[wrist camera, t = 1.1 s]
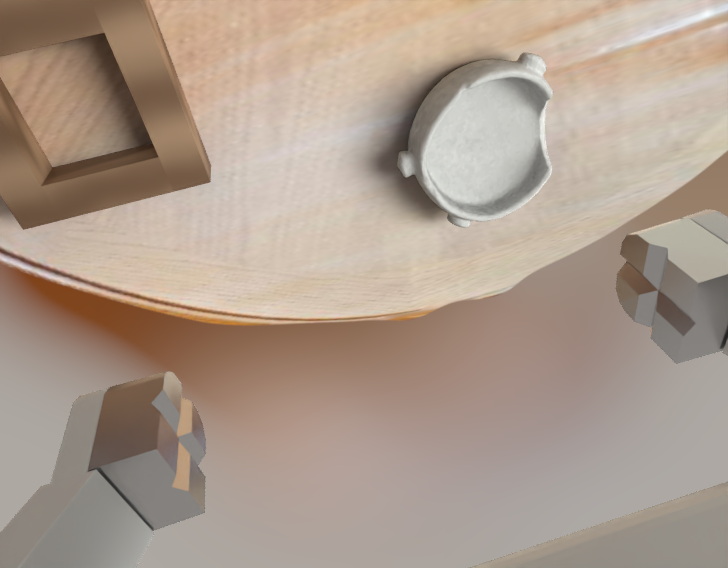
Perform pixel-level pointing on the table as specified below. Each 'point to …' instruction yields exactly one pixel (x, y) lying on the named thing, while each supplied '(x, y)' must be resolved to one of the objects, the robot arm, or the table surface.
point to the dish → (482, 139)
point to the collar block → (150, 93)
